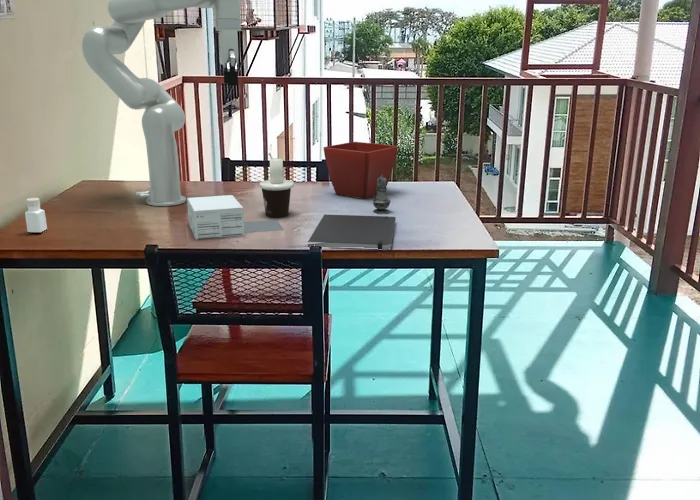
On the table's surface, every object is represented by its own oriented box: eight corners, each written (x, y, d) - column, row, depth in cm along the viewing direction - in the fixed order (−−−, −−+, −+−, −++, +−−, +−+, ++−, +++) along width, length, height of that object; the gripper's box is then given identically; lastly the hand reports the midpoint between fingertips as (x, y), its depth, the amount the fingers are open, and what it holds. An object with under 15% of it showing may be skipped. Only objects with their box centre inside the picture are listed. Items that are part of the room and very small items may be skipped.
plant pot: (353, 186, 241) (354, 140, 236) (397, 192, 230) (398, 145, 225) (322, 195, 226) (321, 147, 221) (367, 202, 215) (367, 152, 210)
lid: (262, 190, 186) (261, 163, 184) (257, 183, 195) (256, 157, 193) (296, 188, 189) (296, 161, 186) (290, 181, 198) (289, 155, 196)
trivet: (243, 237, 175) (243, 232, 175) (239, 227, 185) (238, 222, 185) (283, 235, 178) (283, 229, 178) (277, 224, 188) (276, 219, 188)
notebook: (324, 221, 195) (307, 249, 168) (324, 214, 194) (307, 240, 167) (395, 223, 192) (390, 252, 166) (395, 216, 192) (391, 243, 165)
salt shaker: (34, 230, 181) (29, 197, 178) (48, 230, 181) (43, 197, 178) (27, 234, 177) (21, 200, 174) (41, 234, 177) (36, 200, 174)
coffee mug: (290, 223, 190) (289, 190, 186) (260, 223, 190) (259, 190, 187) (294, 213, 201) (293, 182, 198) (266, 213, 201) (265, 181, 198)
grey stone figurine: (394, 211, 204) (395, 174, 200) (382, 215, 200) (383, 176, 196) (380, 208, 208) (380, 171, 204) (368, 211, 204) (368, 174, 200)
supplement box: (245, 241, 173) (244, 207, 170) (195, 245, 169) (193, 210, 166) (234, 225, 188) (233, 193, 186) (188, 229, 184) (186, 196, 181)
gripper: (213, 26, 201) (216, 83, 206) (218, 24, 185) (221, 86, 190) (237, 26, 203) (239, 82, 208) (244, 25, 187) (246, 86, 192)
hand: (231, 84), depth 199 cm, fingers open, 9 cm apart
